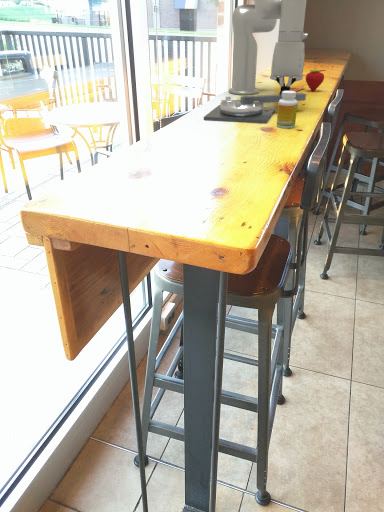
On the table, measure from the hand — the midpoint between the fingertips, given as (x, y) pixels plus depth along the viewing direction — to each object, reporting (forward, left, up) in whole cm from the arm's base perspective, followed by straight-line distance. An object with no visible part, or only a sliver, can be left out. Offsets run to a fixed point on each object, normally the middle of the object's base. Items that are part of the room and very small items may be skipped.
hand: (284, 98), depth 139 cm
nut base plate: (+11, -12, -4) cm, 17 cm away
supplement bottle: (+23, +4, -4) cm, 24 cm away
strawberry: (-41, +8, -4) cm, 42 cm away
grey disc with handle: (+7, -6, -3) cm, 10 cm away
